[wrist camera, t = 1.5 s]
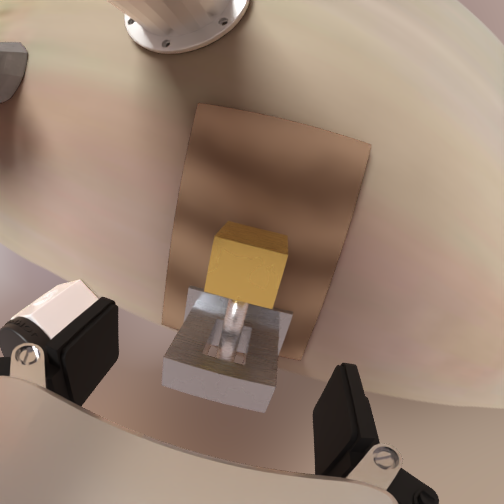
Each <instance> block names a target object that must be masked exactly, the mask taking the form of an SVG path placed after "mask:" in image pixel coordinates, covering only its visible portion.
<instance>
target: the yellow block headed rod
mask: <svg viewBox="0 0 504 504" xmlns="http://www.w3.org/2000/svg"><path fill="white" fill-rule="evenodd" d="M287 258H288V236H287V235H283V234H279V233H275V232H271V231H267V230H263V229H259V228H255V227H251V226H247V225H243V224H239V223H235V222H231V221H227V223H226V224H225V225H224V226H223V227H222V228H221V229H220V230H219V232H218V233H217V234H216V235H215V236H214V241H213V246H212V251H211V256H210V261H209V267H208V272H207V277H206V283H205V288H204V292H208V293H211V294H215V295H219V296H222V297H226V298H229V301H228V305H227V310H226V314H225V319H224V323H223V328H222V332H221V337H220V341H219V346H218V351H217V355H216V358H219V359H222V360H226V361H230V362H234V359H235V356H236V352H237V348H238V344H239V341H240V337H241V333H242V329H243V325H244V321H245V318H246V314H247V310H248V306H249V304H253V305H257V306H261V307H265V308H269V309H273V305H274V302H275V299H276V295H277V292H278V289H279V285H280V282H281V278H282V275H283V272H284V268H285V265H286V261H287Z"/></svg>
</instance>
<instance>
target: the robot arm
mask: <svg viewBox="0 0 504 504" xmlns="http://www.w3.org/2000/svg"><path fill="white" fill-rule="evenodd" d="M107 1H108V2H110V3H111V4H112V5H114V6H115V7H117V8H118V9H119V10H121V11H122V12H123V13H125V16H124V21H125V27H126V30H127V32H128V34H129V36H130V37H131V38H132V39H133V40H134V41H135V42H136V43H138V44H139V45H140V46H142V47H144V48H146V49H148V50H150V51H154V52H157V53H166V54H174V53H184V52H188V51H192V50H196V49H198V48H201V47H204V46H206V45H209V44H210V43H212V42H214V41H216V40H218V39H220V38H221V37H222V36H224V35H225V34H226V33H228V32H229V31H230V30H231V29H232V28H233V27H234V26H235V25H236V24H237V23H238V22H239V21H240V19H241V18H242V17H243V15H244V14H245V12H246V10H247V7H248V5H249V1H250V0H107ZM223 24H226V25H223ZM168 45H169V46H168ZM167 46H168V47H167ZM118 345H119V344H118V306H117V305H115V301H113V300H111V299H108V298H105V297H101V298H100V299H98V300H97V301H96V302H95V303H93V304H92V305H91V306H90V307H89V308H87V309H86V310H85V311H84V312H83V313H81V314H80V315H79V316H78V317H77V318H75V319H74V320H73V321H72V322H71V323H69V324H68V325H67V326H66V327H65V328H64V329H62V330H61V331H60V332H59V333H58V334H57V335H55V336H54V337H53V338H52V339H51V340H50V341H49V342H47V343H46V344H45V346H44V347H43V348H41V347H39V346H38V345H36V344H33V343H23V344H21V345H18V346H17V347H15V349H14V350H13V351H12V355H11V357H0V504H439V499H438V496H437V494H436V492H435V491H434V490H433V489H432V488H430V487H429V486H427V485H425V484H424V483H422V482H421V481H420V480H418V479H417V478H415V477H414V476H412V475H411V474H409V473H408V472H406V471H405V470H404V469H402V468H401V466H402V462H403V458H402V456H401V453H400V452H399V451H398V450H397V449H396V448H395V447H393V446H391V445H389V444H385V443H382V444H380V443H379V439H378V434H377V430H376V426H375V422H374V418H373V415H372V411H371V407H370V404H369V400H368V398H367V397H366V396H365V394H364V390H363V387H362V383H361V379H360V376H359V372H358V369H357V366H356V365H354V364H349V363H342V364H341V365H337V366H336V368H335V370H334V372H333V374H332V376H331V378H330V380H329V382H328V384H327V386H326V388H325V389H324V391H323V393H322V395H321V397H320V399H319V401H318V402H317V404H316V406H315V408H314V410H313V429H314V451H315V475H314V474H305V473H295V472H289V471H282V470H276V469H269V468H263V467H258V466H252V465H247V464H242V463H238V462H233V461H228V460H224V459H220V458H216V457H212V456H209V455H205V454H201V453H198V452H194V451H190V450H187V449H184V448H181V447H177V446H175V445H172V444H169V443H166V442H163V441H160V440H157V439H154V438H152V437H149V436H146V435H144V434H141V433H138V432H136V431H133V430H131V429H128V428H126V427H124V426H121V425H119V424H117V423H114V422H112V421H110V420H108V419H106V418H103V417H101V416H99V415H97V414H95V413H93V412H91V411H89V410H87V409H85V408H83V407H81V406H82V404H83V403H84V402H85V401H86V399H87V398H88V397H89V396H90V394H91V393H92V391H93V390H94V389H95V388H96V386H97V385H98V384H99V383H100V381H101V380H102V379H103V377H104V376H105V375H106V374H107V372H108V371H109V370H110V368H111V367H112V366H113V365H114V363H115V362H116V361H117V359H118V355H119V346H118Z"/></svg>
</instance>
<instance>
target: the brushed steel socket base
mask: <svg viewBox="0 0 504 504" xmlns="http://www.w3.org/2000/svg"><path fill="white" fill-rule="evenodd" d="M228 301H229V298H226V297H222V296H219V295H215V294H211V293H208V292H204V289H202V288H198V287H195V286H191V285H190V287H189V288H188V295H187V302H186V309H185V316H184V323H183V325H182V326H181V328H180V330H179V331H178V333H177V335H176V337H175V338H174V340H173V342H172V344H171V345H170V347H169V348H168V350H167V352H166V354H165V356H164V358H163V373H162V385H163V386H165V387H168V388H172V389H175V390H178V391H181V392H184V393H187V394H191V395H194V396H198V397H201V398H204V399H208V400H211V401H215V402H219V403H223V404H227V405H231V406H235V407H240V408H244V409H248V410H253V411H257V412H262V413H265V412H266V409H267V407H268V405H269V402H270V400H271V398H272V395H273V393H274V390H275V388H276V376H277V361H278V355H279V353H280V350H281V347H282V344H283V342H284V339H285V336H286V333H287V330H288V327H289V325H290V322H291V319H292V316H293V312H292V311H288V310H283V309H279V308H275V307H273V309H269V308H265V307H261V306H257V305H253V304H249V306H248V310H247V314H246V318H245V321H244V325H243V329H242V333H241V337H240V341H239V344H238V348H237V352H241V353H245V356H244V360H243V365H242V364H238V363H234V362H230V361H226V360H222V359H219V358H215V357H211V356H208V355H207V354H208V352H209V349H210V347H211V345H214V346H219V341H220V337H221V332H222V328H223V323H224V319H225V314H226V310H227V305H228Z"/></svg>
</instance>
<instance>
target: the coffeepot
mask: <svg viewBox="0 0 504 504" xmlns="http://www.w3.org/2000/svg"><path fill="white" fill-rule="evenodd" d="M26 65H27V50H26V48H25V47H24V46H23V45H22V44H21V42H0V103H2V102H5V101H7V100H8V99H10V98H11V97H12V95H13V94H14V93H15V91H16V90H17V88H18V86H19V85H20V83H21V80H22V78H23V76H24V73H25V69H26Z"/></svg>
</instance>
